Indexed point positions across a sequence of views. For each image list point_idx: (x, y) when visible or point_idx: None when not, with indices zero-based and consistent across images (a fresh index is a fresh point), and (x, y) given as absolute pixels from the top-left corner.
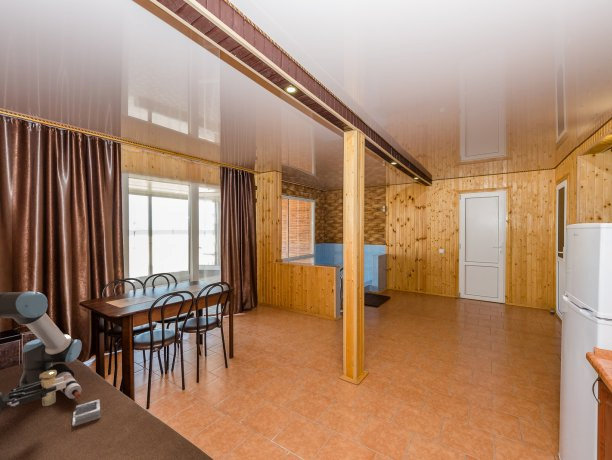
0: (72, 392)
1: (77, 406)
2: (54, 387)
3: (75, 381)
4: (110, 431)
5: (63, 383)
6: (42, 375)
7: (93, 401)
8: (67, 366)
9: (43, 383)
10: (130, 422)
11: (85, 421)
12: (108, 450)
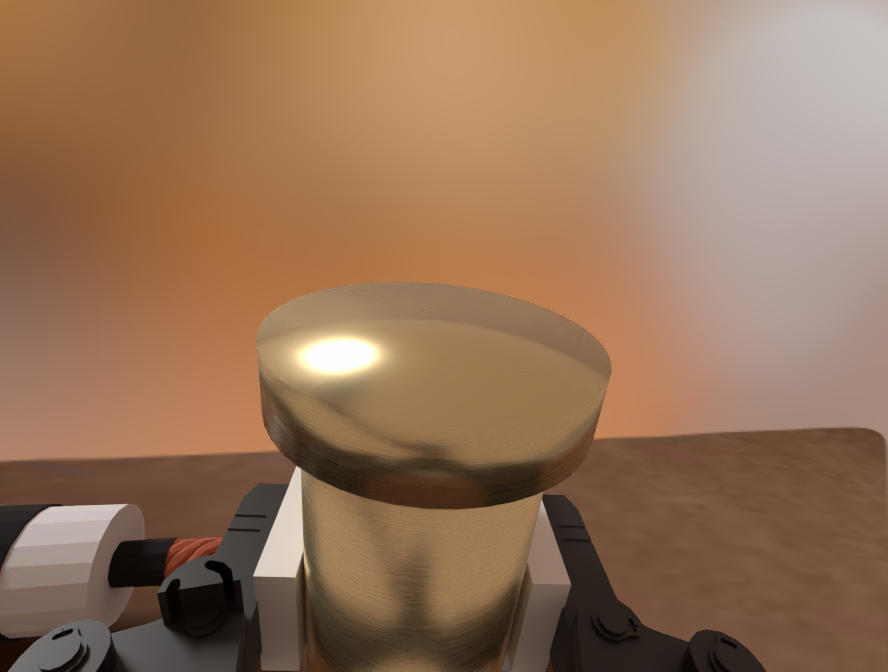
0: (121, 573)
1: None
2: (574, 512)
3: (1, 506)
4: (682, 548)
5: None
6: (487, 390)
7: None
8: None
9: (507, 562)
10: (636, 481)
11: None
12: (858, 591)
